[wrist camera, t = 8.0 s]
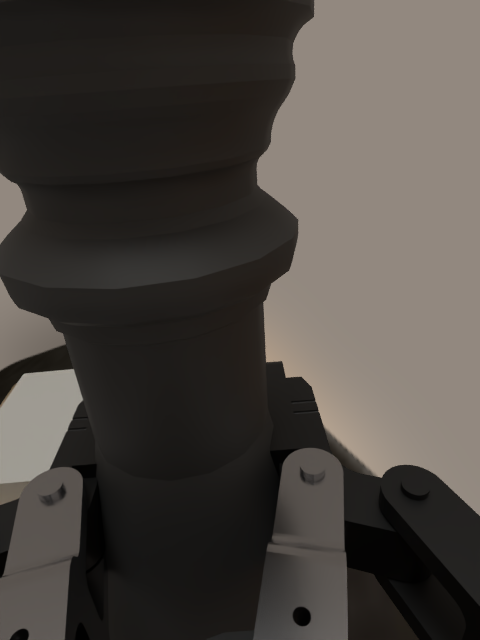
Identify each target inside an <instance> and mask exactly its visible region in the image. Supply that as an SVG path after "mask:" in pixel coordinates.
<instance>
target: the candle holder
mask: <svg viewBox="0 0 480 640" xmlns="http://www.w3.org/2000/svg"><path fill="white" fill-rule="evenodd" d="M313 17H314V0H0V173H1V174H2V175H3V176H5V177H6V178H7V179H8V180H10V181H11V182H14V183H16V184H17V185H18V186H19V187H20V189H21V191H22V194H23V197H24V201H25V204H26V207H27V211H26V213H25V215H24V216H23V218H22V220H21V221H20V222H19V223H18V224H17V226H16V227H15V228H14V229H13V230H12V231H11V232H10V233H9V234H8V235H7V237H6V238H5V239H4V240H3V242H2V243H1V244H0V277H1V279H2V281H3V283H4V285H5V287H6V289H7V291H8V293H9V295H10V297H11V298H12V300H13V301H14V303H15V304H16V305H17V306H18V307H19V308H21V309H23V310H26V311H29V312H32V313H35V314H38V315H41V316H43V317H46V318H49V320H50V321H51V323H52V325H53V326H54V328H55V329H56V331H58V332H61V333H63V334H64V338H65V341H66V345H67V348H68V352H69V355H70V358H71V362H72V365H73V368H74V372H75V375H76V378H77V382H78V385H79V388H80V392H81V395H82V398H83V402H84V405H85V408H86V412H87V415H88V418H89V422H90V425H91V428H92V432H93V435H94V438H95V461H96V463H97V469H96V478H97V480H98V487H99V496H100V505H101V514H102V523H103V532H104V541H105V549H104V550H105V556H106V562H107V568H108V614H109V636H110V640H206V639H208V638H211V637H214V636H216V635H219V634H221V633H226V632H239V631H251V630H255V624H256V617H257V611H258V604H259V597H260V591H261V584H262V577H263V571H264V564H265V557H266V551H267V546H268V543H269V541H270V540H272V536H273V529H274V522H275V515H276V508H277V501H278V494H279V487H280V481H279V476H278V474H277V471H276V468H275V465H274V463H273V460H272V457H271V454H270V444H271V439H272V433H273V427H274V425H273V422H272V419H271V416H270V413H269V410H268V400H267V377H266V355H265V332H264V311H263V310H264V309H263V302H264V301H265V300H266V298H267V295H268V292H269V289H270V286H271V283H273V282H274V281H275V280H277V279H278V278H279V277H281V276H282V275H283V274H285V273H286V272H288V271H289V269H290V266H291V263H292V259H293V255H294V251H295V247H296V243H297V238H298V219H297V218H296V217H295V216H294V215H293V214H292V213H291V212H290V211H289V210H287V209H286V208H285V207H284V206H283V205H281V204H280V203H279V202H278V201H276V200H275V199H274V198H272V197H271V196H270V195H269V194H267V193H266V192H265V191H263V190H262V189H260V187H259V186H258V185H257V171H256V167H257V162H258V159H259V157H260V156H261V155H262V154H263V153H264V152H265V151H266V150H267V149H268V147H269V145H270V142H271V130H272V125H273V122H274V118H275V116H276V114H277V111H278V109H279V108H280V106H281V105H282V103H283V102H284V101H285V99H286V97H287V96H288V94H289V92H290V90H291V88H292V85H293V83H294V80H295V64H294V61H293V55H292V49H293V42H294V40H295V37H296V35H297V33H298V32H299V30H300V29H301V28H302V26H303V25H304V24H305V23H307V22H308V21H309V20H310V19H312V18H313Z"/></svg>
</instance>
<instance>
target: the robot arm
mask: <svg viewBox="0 0 480 640" xmlns="http://www.w3.org/2000/svg"><path fill="white" fill-rule="evenodd" d="M266 377H267V400H268V410H269V413H270V416H271V419H272V422H273V425H274V427H273V433H272V439H271V444H270V454H271V457H272V460H273V463H274V465H275V468H276V471H277V474H278V476H279V481H280V487H279V494H278V501H277V508H276V515H275V522H274V529H273V536H272V540H270V541H269V543H268V546H267V551H266V557H265V564H264V571H263V577H262V584H261V591H260V597H259V604H258V611H257V617H256V624H255V630H251V631H239V632H226V633H221V634H219V635H216V636H214V637H211V638H208V639H206V640H348V613H347V567H349V568H353V569H357V570H361V571H365V572H369V573H372V574H374V575H375V577H376V579H377V580H378V582H379V583H380V585H381V586H382V587H383V589H384V590H385V592H386V593H387V594H388V596H389V597H390V599H391V600H392V602H393V603H394V604H395V606H396V607H397V609H398V610H399V611H400V613H401V614H402V616H403V617H404V618H405V620H406V621H407V623H408V624H409V626H410V627H411V628H412V630H413V631H414V633H415V634H416V635H417V637H418V638H419V640H480V516H479V515H478V514H477V513H476V512H475V511H474V510H473V509H472V508H470V507H469V506H468V505H467V504H466V503H465V502H464V501H463V500H462V499H461V498H460V497H459V496H458V495H457V494H455V493H454V492H453V491H452V490H451V489H450V488H449V487H448V486H447V485H446V484H445V483H444V482H443V481H442V480H440V479H439V478H438V477H437V476H436V475H435V474H433V473H431V472H430V471H428V470H426V469H424V468H420V467H418V466H413V465H399V466H395V467H392V468H391V469H389V470H387V471H386V472H385V474H384V475H383V477H382V478H380V477H375V476H370V475H364V474H360V473H357V472H354V471H351V470H349V469H347V468H346V467H344V466H343V465H341V464H340V462H339V461H338V459H337V458H336V457H335V456H333V454H332V452H331V450H330V446H329V443H328V440H327V437H326V433H325V430H324V427H323V423H322V420H321V417H320V413H319V412H318V407H317V404H316V402H315V397H314V394H313V390H312V387H311V386H310V385H309V384H308V383H307V382H306V381H305V380H304V379H303V378H302V377H291V378H286V377H285V373H284V368H283V363H282V361H280V362H266ZM96 469H97V463H96V461H95V438H94V435H93V432H92V428H91V425H90V422H89V418H88V415H87V412H86V408H85V405H84V402H83V401H82V402H81V403H80V404H79V405H78V406H77V409H76V411H75V413H74V415H73V420H71V422H70V424H69V427H68V431H66V433H65V436H64V438H63V440H62V442H61V445H60V447H59V449H58V451H57V454H56V456H55V458H54V460H53V463H52V465H51V467H50V469H49V470H48V471H45V472H43V473H41V474H39V475H38V476H36V477H35V478H34V479H32V480H31V481H30V482H29V483H28V484H27V485H26V486H25V488H24V489H23V491H22V493H21V495H20V498H18V499H16V500H13V501H11V502H8V503H5V504H2V505H0V640H110V636H109V614H108V568H107V562H106V556H105V550H104V549H105V541H104V532H103V523H102V514H101V505H100V496H99V487H98V480H97V478H96Z"/></svg>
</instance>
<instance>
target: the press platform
mask: <svg viewBox="0 0 480 640" xmlns="http://www.w3.org/2000/svg"><path fill="white" fill-rule="evenodd" d="M82 401H83V398H82V395H81V392H80V388H79V385H78V382H77V378H76V375H75V372H74V369H71V370H60V371H49V372H38V373H27V374H23V376H22V377H21V379H20V380H19V382H18V383H17V384H16V386H15V387H14V389H13V390H12V392H11V393H10V395H9V396H8V398H7V399H6V401H5V402H4V403H3V405H2V406H1V408H0V505H2V504H5V503H8V502H11V501H13V500H16V499H18V498H20V495H21V493H22V491H23V489H24V488H25V486H26V485H27V484H28V483H29V482H30V481H31V480H32V479H34V478H35V477H36V476H38V475H39V474H41V473H43V472H45V471H48V470H49V469H50V467H51V465H52V463H53V460H54V458H55V456H56V454H57V451H58V449H59V447H60V445H61V442H62V440H63V438H64V436H65V433H66V431H68V427H69V424H70V422H71V420H73V415H74V413H75V411H76V409H77V406H78V405H79V404H80V403H81V402H82Z"/></svg>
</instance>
